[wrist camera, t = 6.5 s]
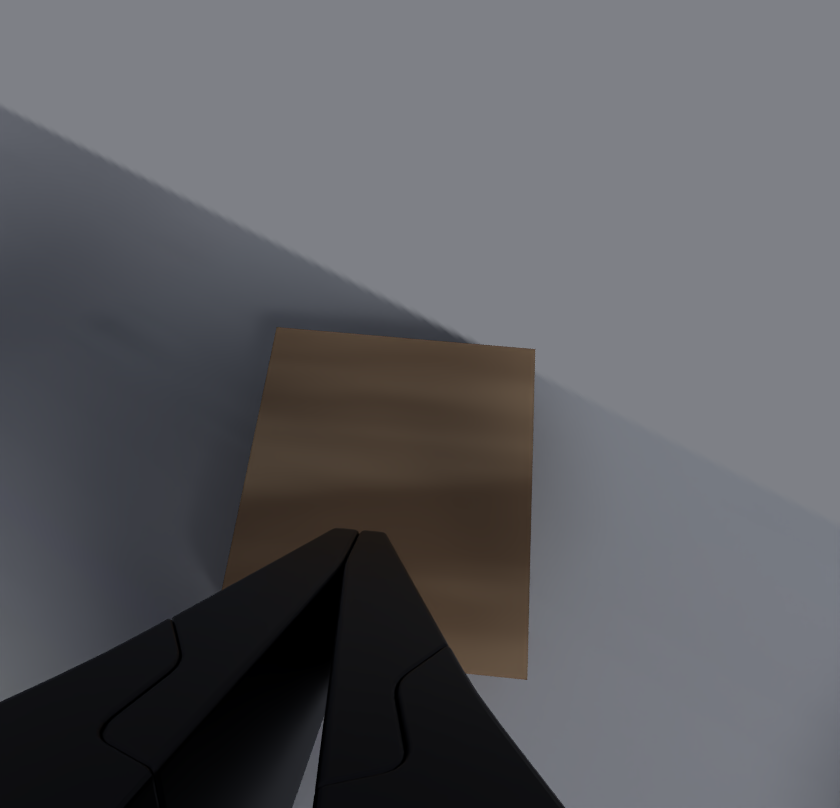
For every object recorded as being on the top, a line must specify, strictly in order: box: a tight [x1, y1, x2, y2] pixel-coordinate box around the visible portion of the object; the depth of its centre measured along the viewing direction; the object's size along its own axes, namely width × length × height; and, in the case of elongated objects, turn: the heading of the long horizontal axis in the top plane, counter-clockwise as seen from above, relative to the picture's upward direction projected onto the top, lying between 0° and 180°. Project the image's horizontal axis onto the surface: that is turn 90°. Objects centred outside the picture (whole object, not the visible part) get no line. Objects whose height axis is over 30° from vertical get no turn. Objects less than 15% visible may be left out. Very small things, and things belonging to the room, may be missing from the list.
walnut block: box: [222, 327, 535, 680], centre depth 15 cm, size 3×7×8 cm
